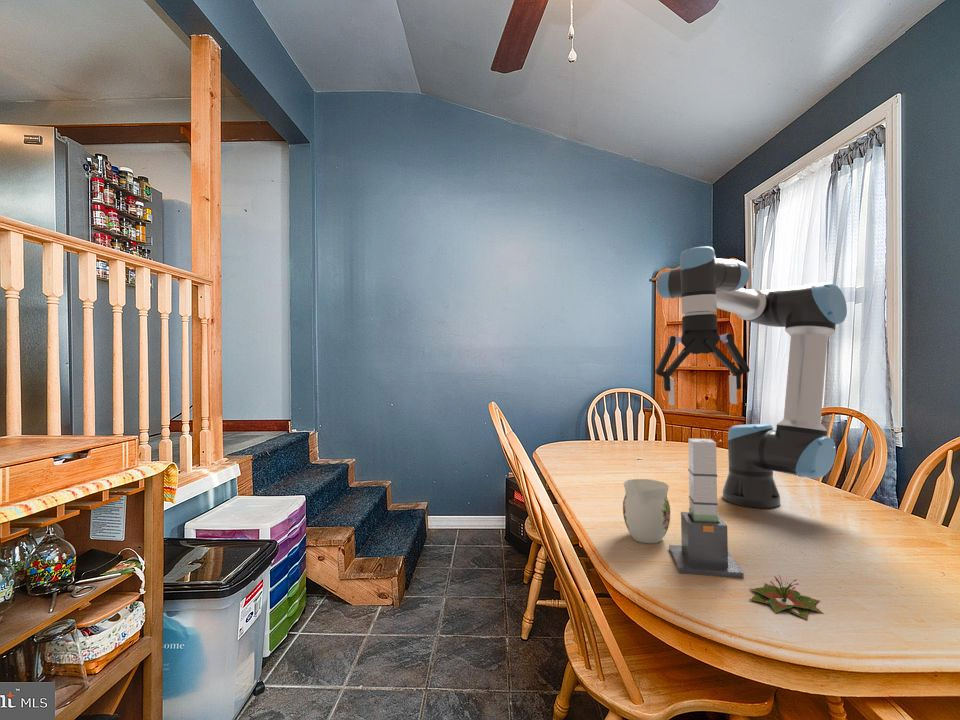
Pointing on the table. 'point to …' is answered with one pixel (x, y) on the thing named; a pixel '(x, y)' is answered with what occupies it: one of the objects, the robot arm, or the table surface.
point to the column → (702, 481)
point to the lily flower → (785, 593)
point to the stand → (704, 549)
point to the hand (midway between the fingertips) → (702, 404)
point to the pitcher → (646, 509)
